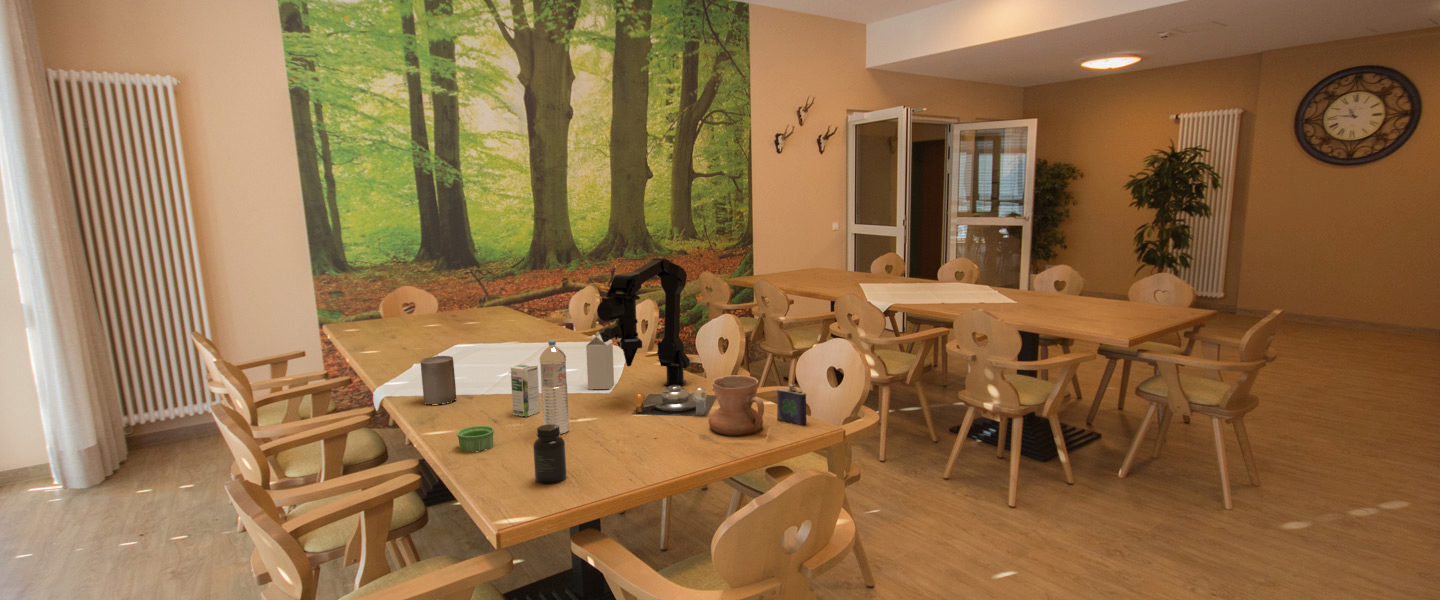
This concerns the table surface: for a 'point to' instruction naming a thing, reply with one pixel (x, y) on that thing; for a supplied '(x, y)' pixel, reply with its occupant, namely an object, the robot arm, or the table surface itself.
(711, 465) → the table surface
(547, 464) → the supplement bottle
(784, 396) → the flask
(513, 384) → the syrup box
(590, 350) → the milk carton
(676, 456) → the table surface
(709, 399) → the base plate
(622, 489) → the table surface
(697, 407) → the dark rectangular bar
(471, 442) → the ramekin
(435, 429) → the table surface
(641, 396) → the turntable
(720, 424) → the ceramic jug
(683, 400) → the cover
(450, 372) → the pillar candle
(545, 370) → the water bottle
